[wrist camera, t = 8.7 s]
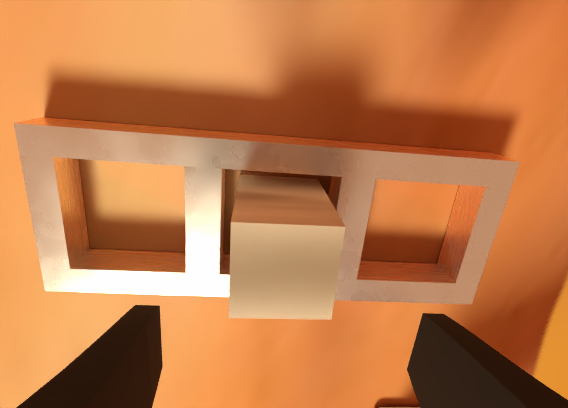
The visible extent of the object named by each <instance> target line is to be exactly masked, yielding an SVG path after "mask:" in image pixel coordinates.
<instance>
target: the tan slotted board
mask: <svg viewBox="0 0 568 408" xmlns="http://www.w3.org/2000/svg"><path fill="white" fill-rule="evenodd" d="M14 127H15V132H16V138H17V143H18V148H19V154H20V159H21V164H22V170H23V175H24V180H25V186H26V191H27V196H28V202H29V207H30V213H31V218H32V223H33V229H34V234H35V239H36V245H37V250H38V255H39V261H40V266H41V271H42V277H43V282H44V288H45V291H61V292H93V293H124V294H156V295H188V296H220V297H229V278H230V255H223V241H224V207H225V173H226V169H234V170H249V171H263V172H278V173H293V174H307V175H322V176H331V182H330V189H329V196H328V197H329V199H330V201H331V203H332V204H333V206H334V208H335V209H336V211H337V213H338V215H339V216H340V218H341V220H342V222H343V223H344V225H345V234H344V240H343V247H342V253H341V260H340V266H339V273H338V279H337V286H336V292H335V299H334V300H347V301H379V302H410V303H442V304H472V302H473V299H474V296H475V293H476V290H477V287H478V284H479V281H480V278H481V276H482V273H483V270H484V267H485V264H486V261H487V258H488V255H489V252H490V249H491V246H492V243H493V240H494V237H495V234H496V231H497V229H498V226H499V223H500V220H501V217H502V214H503V211H504V208H505V205H506V202H507V199H508V196H509V193H510V190H511V187H512V185H513V182H514V179H515V176H516V173H517V170H518V167H519V164H520V162H519V161H516V160H513V159H510V158H507V157H504V156H501V155H498V154H495V153H490V152H477V151H464V150H451V149H439V148H426V147H413V146H401V145H388V144H375V143H362V142H350V141H337V140H324V139H312V138H299V137H286V136H273V135H261V134H248V133H235V132H222V131H210V130H197V129H184V128H172V127H159V126H146V125H133V124H121V123H108V122H95V121H82V120H70V119H57V118H44V117H43V118H38V119H33V120H27V121H22V122H17V123H14ZM78 159H87V160H101V161H116V162H131V163H146V164H160V165H175V166H185V230H186V253H177V252H154V251H131V250H108V249H90V248H89V240H88V232H87V224H86V216H85V208H84V200H83V192H82V184H81V176H80V168H79V160H78ZM376 179H381V180H396V181H410V182H425V183H440V184H455V185H459V188H458V191H457V195H456V198H455V202H454V205H453V209H452V212H451V216H450V220H449V223H448V227H447V230H446V234H445V237H444V241H443V244H442V248H441V251H440V255H439V258H438V262H437V264H430V263H407V262H384V261H361V260H360V259H361V254H362V249H363V244H364V239H365V233H366V228H367V223H368V218H369V213H370V207H371V202H372V197H373V192H374V186H375V181H376Z"/></svg>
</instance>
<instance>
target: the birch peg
mask: <svg viewBox="0 0 568 408" xmlns="http://www.w3.org/2000/svg"><path fill="white" fill-rule="evenodd" d="M344 234H345V225H344V223H343V222H342V220H341V218H340V216H339V215H338V213H337V211H336V209H335V208H334V206H333V204H332V203H331V201H330V199H329V197H328V196H327V194H326V192H325V190H324V189H323V187H322V185H321V184H320V182H319V180H318V179H314V178H296V177H277V176H259V175H240V176H239V181H238V187H237V192H236V197H235V203H234V208H233V213H232V218H231V235H230V278H229V318H263V319H331V318H332V312H333V305H334V299H335V292H336V286H337V279H338V273H339V266H340V260H341V253H342V247H343V240H344Z"/></svg>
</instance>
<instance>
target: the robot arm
mask: <svg viewBox="0 0 568 408" xmlns="http://www.w3.org/2000/svg"><path fill="white" fill-rule="evenodd" d="M161 370H162V347H161V326H160V306H150V305H135V306H134V307H133V308H131V309H130V310H129V311H128V312H127V313H126V314H125V315H124V316H123V317H121V318H120V319H119V320H118V321H117V322H116V323H115V324H114V325H113V326H112V327H111V328H110V329H108V330H107V331H106V332H105V333H104V334H103V335H102V336H101V337H100V338H99V339H97V340H96V341H95V342H94V343H93V344H92V345H91V346H90V347H89V348H87V349H86V350H85V351H84V352H83V353H82V354H81V355H79V356H78V357H77V358H76V359H75V360H74V361H73V362H71V363H70V364H69V365H68V366H67V367H66V368H65V369H63V370H62V371H61V372H60V373H59V374H57V375H56V376H55V377H54V378H53V379H51V380H50V381H49V382H48V383H46V384H45V385H44V386H43V387H41V388H40V389H39V390H38V391H37V392H35V393H34V394H33V395H32V396H30V397H29V398H28V399H27V400H25V401H24V402H23V403H22V404H20V405H19V406H18V407H17V408H152V405H153V401H154V398H155V394H156V390H157V386H158V382H159V378H160V374H161ZM407 370H408V373H409V376H410V379H411V382H412V386H413V389H414V391H415V394H416V397H417V400H418V402H419V405H420V407H379V408H568V400H567V399H565V398H564V397H562V396H561V395H559V394H558V393H556V392H555V391H553V390H551V389H550V388H549V387H547V386H545V385H544V384H543V383H541V382H540V381H538V380H537V379H535V378H534V377H533V376H531V375H530V374H528V373H527V372H525V371H524V370H523V369H521V368H520V367H518V366H517V365H515V364H514V363H513V362H511V361H510V360H508V359H507V358H506V357H504V356H503V355H501V354H500V353H499V352H497V351H496V350H495V349H493V348H492V347H490V346H489V345H488V344H486V343H485V342H483V341H482V340H481V339H479V338H478V337H477V336H475V335H474V334H472V333H471V332H470V331H468V330H467V329H465V328H464V327H463V326H461V325H460V324H458V323H457V322H455V321H454V320H452V319H451V318H449V317H448V316H446V315H444V314H427V313H423V315H422V318H421V322H420V325H419V329H418V332H417V336H416V340H415V343H414V347H413V350H412V354H411V357H410V361H409V364H408V368H407Z"/></svg>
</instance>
